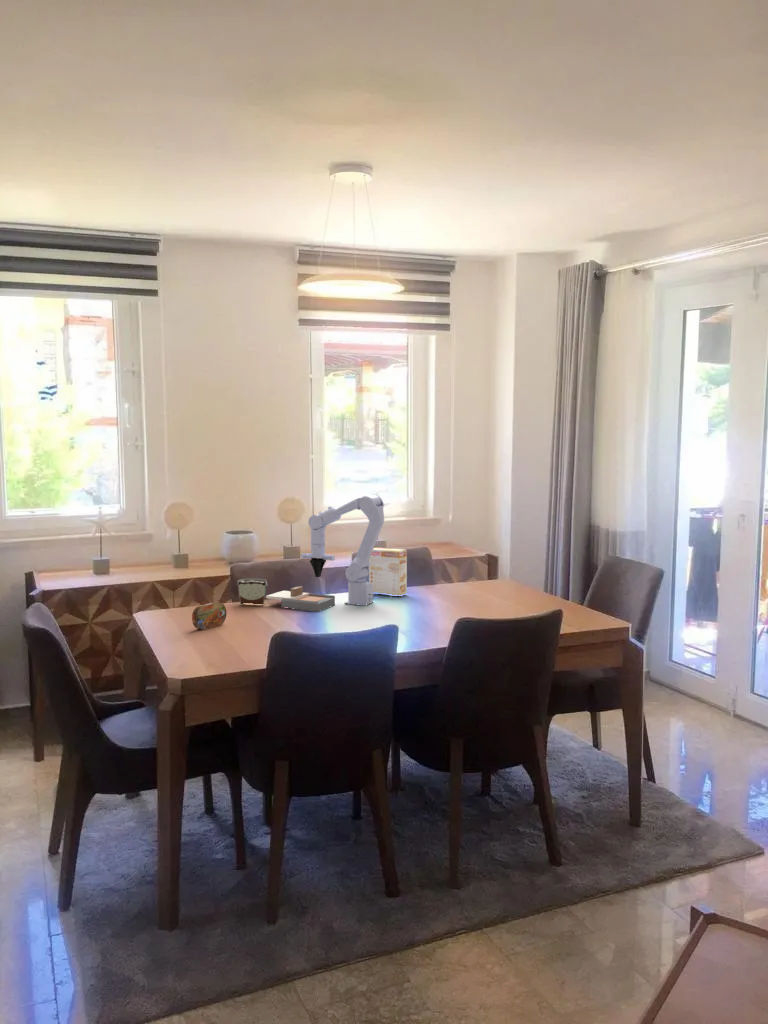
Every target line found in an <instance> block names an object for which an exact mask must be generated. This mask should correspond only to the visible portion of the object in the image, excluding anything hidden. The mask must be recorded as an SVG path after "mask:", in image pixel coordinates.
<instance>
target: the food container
mask: <svg viewBox="0 0 768 1024" xmlns="http://www.w3.org/2000/svg"><path fill="white" fill-rule="evenodd" d="M236 586H237V588H238V596H239V604H243V603H253V604H264V605H265V598H266V590H267V589H266V588H267V587H268V586H269V585H268V581H267V579H264V578H242V579H238V580H237V583H236Z"/></svg>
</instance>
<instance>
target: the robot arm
mask: <svg viewBox="0 0 768 1024" xmlns="http://www.w3.org/2000/svg"><path fill="white" fill-rule="evenodd" d="M384 507H385V503H384V501H383V499H382V498H381V497H380V495H377V494H372V495H364V496H362V497H359V498H356V499H352V500H351V501H349V502H347V503H345V504H343V505H341V506H339V507H336V506H328V507H327V509H325V510H324V511H323V510H322V511H319V512H318V514H312V515H311V516H310V517H308V520H307V521H308V523H307V524H308V526H309V527H310V553H309V552H305V553H301V559H310V560H309V563H310V565H311V566H312V570H313V573H314V577H315V578H320V577H321V576H322V571H323V569H324V566H325V564H326V562H327V561H335V560H336V559H335V558H336V556H335V554H334V555H333V554H326V543H325V542H326V527H327V526H329V525H330V524H333V523H335V522H337V521H339V520H341V517H342V516H343V515H345V514H348V513H350V512H353V511H355V510H360V511H361V512H362V513H363V514H364V515H365V516H366V518H367V519H368V521H369V522H368V524H367V527H366V530H365V532H364V536H363V538H362V541H361V543H360V546H359V549H358V551H357V553H356V556H355V558H353V560H352V561H351V563H350V565H349V566H348V567H347V568H346V570H345V577H346V580H348V581H347V582H348V583H347V584H348V585H347V588H348V589H347V590H348V594H347V595H348V597H347V598H348V600H347V601H345V602H344V603H348V604H347V605H354V604H359V605H358V606H367V605H366V604H368V605H370V604H372V603H371V602H373V601H374V599H373V598H374V594H373V586H372V583H370V582H369V581H367V577H369V566H370V563H369V559H370V556H371V553H372V551H373V548H375V547H376V546H375V545H376V544H377V543H376V542H377V541H378V538H379V536H380V533H381V530H382V527H383V524H384V522H385V518H384V517H385V514H384ZM369 603H370V604H369ZM373 603H374V602H373Z"/></svg>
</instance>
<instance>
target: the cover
mask: <svg viewBox="0 0 768 1024" xmlns="http://www.w3.org/2000/svg"><path fill="white" fill-rule="evenodd" d="M303 590H304V589H303V586H295V587H292V588H290V591H289V590H281V591H277V592H274V593H271V594H267V595H265V598H266V599H269V600H279V601H282V600H281V598H286V599H300V598H303V597H306V596H309V593H310V592H303Z"/></svg>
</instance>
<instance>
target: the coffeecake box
mask: <svg viewBox="0 0 768 1024" xmlns="http://www.w3.org/2000/svg"><path fill="white" fill-rule="evenodd" d="M369 563H370V566H369V574H368V582H370V583H372V586H373V592H379V593H386V594H392V595H402V594H405V593H407V592H408V591H407V589H408V588H407V585H408V582H407V581H408V575H407V574H408V568H407V567H408V566H407V565H408V550H407V549H403V548H392V547H391V548H390V547H389V548H388V547H374V548H373V551H372V553H371V556H370V559H369Z"/></svg>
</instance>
